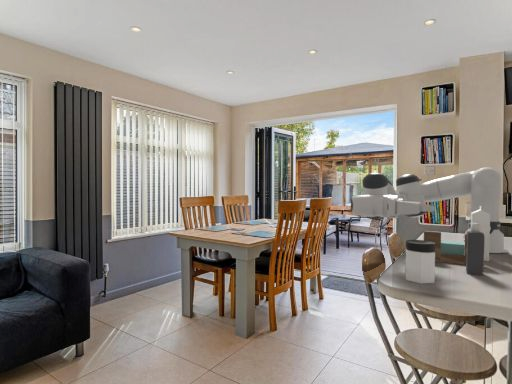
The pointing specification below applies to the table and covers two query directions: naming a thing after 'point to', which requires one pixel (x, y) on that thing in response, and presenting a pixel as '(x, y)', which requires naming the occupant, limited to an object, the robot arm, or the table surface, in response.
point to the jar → (420, 261)
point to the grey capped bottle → (475, 250)
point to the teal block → (452, 247)
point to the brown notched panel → (442, 257)
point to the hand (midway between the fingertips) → (434, 208)
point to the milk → (483, 228)
